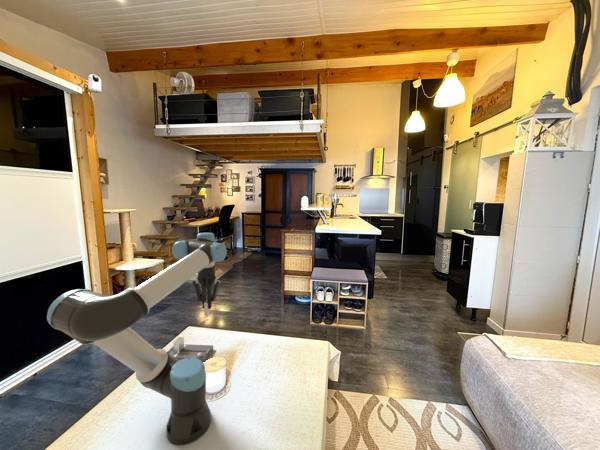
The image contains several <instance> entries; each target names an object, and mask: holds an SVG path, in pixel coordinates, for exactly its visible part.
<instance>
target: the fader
mask: <svg viewBox="0 0 600 450" xmlns="http://www.w3.org/2000/svg"><path fill="white" fill-rule="evenodd" d="M184 344H185V337H184V336H183V337H181V336H178V337H177V338H176V339H175V340H174V341H173V346H174V353H180V352H181V351H182V349H183V348H184Z"/></svg>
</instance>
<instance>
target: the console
mask: <svg viewBox="0 0 600 450" xmlns="http://www.w3.org/2000/svg"><path fill="white" fill-rule="evenodd" d="M213 351H214V344H213V345H212V344H211V345H209V344H186V343H184V348H183V349H182V351H181V352H180V353H174V345H173V346H171V347H170V348H169V349H168V350H167V351H166V352H168V353H169V354H170V355H171V356H172V357H174V358H176V359H178V360H182V359H185V358H188V359H190V358H196V359H199V360H200V361H202V362H204V361H205V360H206V361H207V359H208V358H209V357H210V355H211V353H213ZM206 361H205V362H206Z"/></svg>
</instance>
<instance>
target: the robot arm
mask: <svg viewBox="0 0 600 450" xmlns="http://www.w3.org/2000/svg"><path fill="white" fill-rule="evenodd" d="M171 250H172V251H171V252H172V255H173V257H174V258H175V259H177V260H178V261H176V262H174V263H173V264H171V265H169V266H168V267H166V268H164V269H163V270H161V271H160V272H158V273H156V274H155V275H153V276H152V277H150V278H149V279H147V280H145V281H144V282H142V283H141V284H138V286H136V287H134V288H131V287H128V288H126V289H124V290H122V291H121V292H119V293H117V294H113V295H106V294H102V293H99V292H95V291H92V290H90V289H88V288H87V289H85V288H84V289H82V288H77V289H72V290H69V291H65V292H64V293H62V294H61V295H59V296H58V297H57V298H56V299H55V300H53V302H51V304H50V305H49V307H48V309H47V315H46V321H47V323H48V324H49V325H50V326H51V328H53V329H54V330H56V331H60V332H63V333H64V334H66V335H68V336H69V337H70V338H71V339H74V340H75V341H77V342H78V343H79V344H82V345H91V344H94V345H95V346H97V347H98V348H99V349H101V350H103V351H104V352H105V353H107V354H108V355H110V356H111V357H113V358H114V359H115V360H117V361H119V362H120V363H122V364H123V365H125V366H126V367H127V368H129V369H131V370H132V372H135V377H136V380H137V381H138V382H139V383H140V384H141V385H142V386H143V387H145V388H146V389H150V390H152V391H154V392H156V393H158V394H159V395H162V396H164V397H166V398H169V399H170V407H171V409H170V411H171V412H170V413H169V417H168V421H167V424H166V428H165V430H166V434H165V435H166V439H167V440H168V441H169V443H171V444H172V445H173V444H174V445H178V446H181V445H183V446H184V445H188V444H191V443H193V442H195V441H197V440H198V439H200V438H201V437H202V436H204V434H205V433H206V432H207V431H208V429H209V428H210V425H211V423H212V413H211V409H210V407H209V404H208V402H207V400H206V399H207V397H206V396H207V395H206V394H207V393H206V391H207V390H206V389H207V387H206V385H207V384H206V383H207V380H206V379H207V373H206V367H205V363H203V362H202V361H200V360H199V359H196V358H190V359H188V358H185V359H182V360H178V359H176V358H174V357H172V356H171V355H170V354H169V353H168V352H167V351H166V350H165V349H163V348H158V349H157V348H155V347H154V346H153V345H151V343H150V342H148V341H147V340H146V339H145V338H143V337H142V336H141V335H140V334H139V333H137V332H136V331H135V330H134V329H132V326H133V325H135V324H136V323H138V322H139V321H141V320H142V319H143V318H145V317H146V316H147V315H148V314H149V313H150V308H152V307H153V306H155V305H156V304H158V303H159V302H160V301H162V300H163V299H165V298H166V297H167V296H168V295H170V294H171V293H173V292H174V291H175V290H176V289H178V288H179V287H181V286H182V285H183V284H185V283H186V282H187V281H189V280H190V279H191V278H193V277H195V276H196V275H197V278H196V279H194V280H193V281H191V283H192V284H193V287H194V289H195V293H196V296H197V297H196V298H197V301H198V302H201V305H202V306H201V308H202V309H204V311H203V312H204V313H203V317H209V316H210V314H211V308H212V306H213V305H212V304H213V303H212V302H214V301H215V300H216V299H217V295H218V290H219V286H220V284H221V282H222V281H221V279H217V277H216V266H215V264H216V263H221V262H223V261H224V260H225V259H226V257H227V254H228V252H227V247H226V245H225V244H224V243H220V242H217V241H215V234H214V232H199V233H198V234H197V235H196V238H192V239H185V240H183V239H181V240H179V241H176V242H174V243H173V245H172V249H171ZM213 284H214V287H213ZM212 288H213V289H212Z"/></svg>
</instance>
